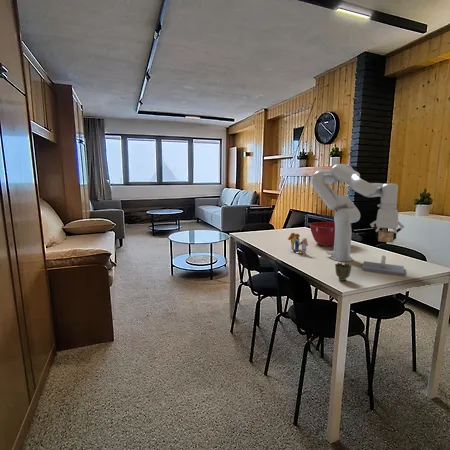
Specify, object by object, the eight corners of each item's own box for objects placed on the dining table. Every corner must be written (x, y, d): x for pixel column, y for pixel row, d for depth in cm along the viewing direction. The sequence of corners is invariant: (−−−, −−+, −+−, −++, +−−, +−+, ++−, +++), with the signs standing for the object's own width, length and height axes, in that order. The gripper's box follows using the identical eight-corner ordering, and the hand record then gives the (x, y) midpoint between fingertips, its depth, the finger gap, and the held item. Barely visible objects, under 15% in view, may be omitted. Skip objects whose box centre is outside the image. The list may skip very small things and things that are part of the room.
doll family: (308, 255, 189) (309, 235, 187) (294, 256, 188) (295, 236, 186) (296, 247, 210) (297, 230, 208) (284, 248, 209) (284, 230, 207)
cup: (333, 281, 142) (334, 266, 141) (334, 277, 149) (335, 262, 147) (350, 283, 139) (351, 267, 138) (350, 279, 146) (351, 263, 144)
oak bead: (377, 241, 156) (378, 232, 155) (378, 238, 162) (379, 230, 161) (392, 242, 153) (393, 233, 152) (392, 240, 159) (393, 231, 158)
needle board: (361, 270, 159) (362, 256, 158) (363, 263, 171) (364, 250, 170) (404, 276, 149) (405, 261, 148) (403, 268, 161) (404, 254, 160)
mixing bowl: (300, 244, 221) (301, 224, 219) (321, 238, 240) (322, 220, 237) (335, 251, 200) (337, 229, 198) (354, 244, 219) (356, 224, 216)
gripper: (369, 206, 156) (367, 239, 158) (407, 208, 147) (404, 242, 150) (370, 205, 162) (368, 236, 165) (407, 207, 153) (404, 239, 156)
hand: (385, 239), depth 157 cm, fingers closed on oak bead, 7 cm apart
